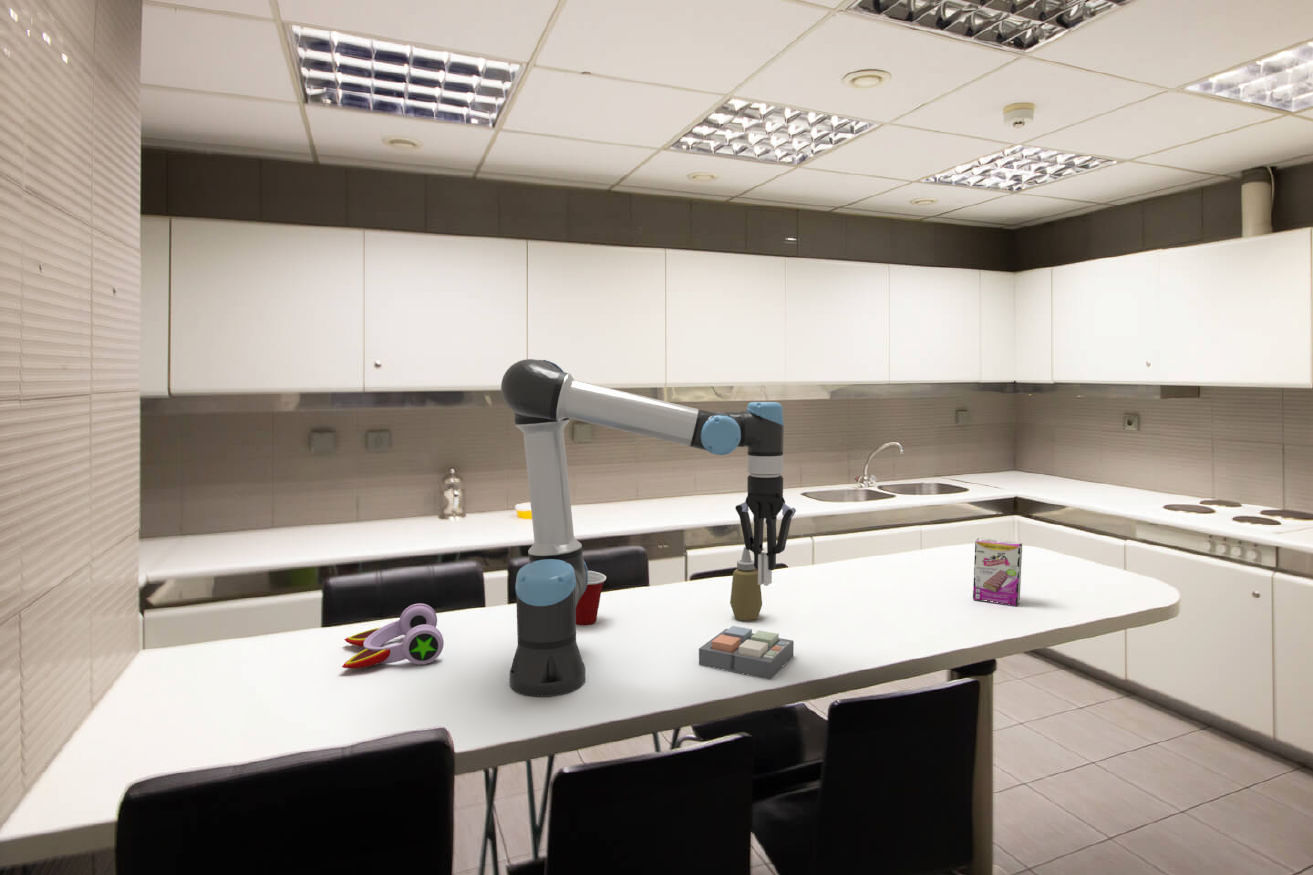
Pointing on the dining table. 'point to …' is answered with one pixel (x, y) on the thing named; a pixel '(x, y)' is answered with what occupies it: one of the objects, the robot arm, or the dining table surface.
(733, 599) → the squeeze bottle
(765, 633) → the key sage
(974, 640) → the dining table surface
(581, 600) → the plastic cup
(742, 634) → the key slate
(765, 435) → the robot arm
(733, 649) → the key terracotta
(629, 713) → the dining table surface
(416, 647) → the headphones
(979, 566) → the candy bar box
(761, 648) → the key cream
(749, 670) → the keypad
